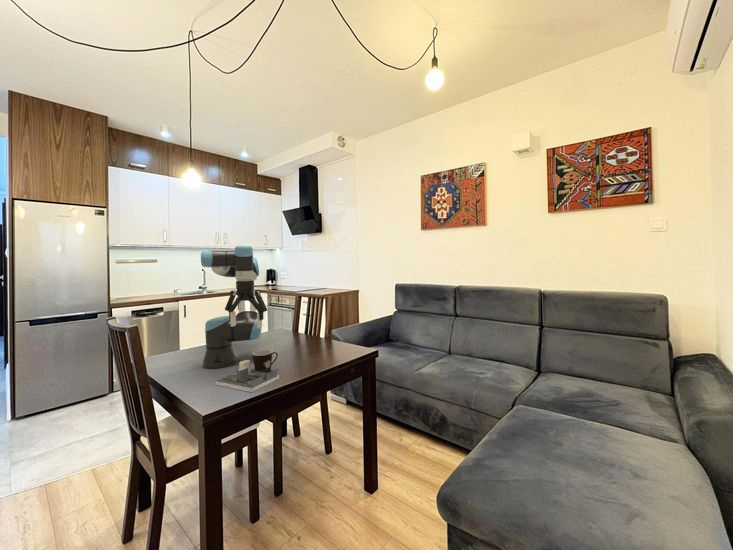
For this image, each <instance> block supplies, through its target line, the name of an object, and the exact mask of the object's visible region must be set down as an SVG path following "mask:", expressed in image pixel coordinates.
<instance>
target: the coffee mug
mask: <svg viewBox="0 0 733 550" xmlns="http://www.w3.org/2000/svg"><path fill="white" fill-rule="evenodd" d="M274 354H275V355H276V356H275V359H274V360H273V355H274ZM278 356H279V355H278V352H276V351H273V350H269V349H263V350H257V351H254V352H252V361H253V365H254V370H255V371H264V372H271V371H272V365H273V364H274V363H275V362H276V361H277V359H278Z"/></svg>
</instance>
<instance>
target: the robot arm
mask: <svg viewBox="0 0 733 550" xmlns="http://www.w3.org/2000/svg"><path fill="white" fill-rule="evenodd" d="M200 263H201V266H202V267H203V268H211V270H212V272H213V273H214V274H216V275H218V276H221V277H225V278H235V280H236V281H235V289H236V290H235V289H234V290H231V291H230V292H229V293H230V294H229V297H228V300H227V302H226V305H225V306H224V310H225V311H227V312H228V315H226V316H225V315H224V316H218V317H213V318H210V319H208V320H207V321H206V322H205V325H204V326H205V328H204V331H205V353H204V356H203V360H202V368H205V369H221V368H226V367H230V366H232V365H234V364H236V363H237V358H236V355H235V351H234V349H233V347H232V343H235V342H243V341H244V342H245V341H246V342H247V341H255V340H259V339H260V338H261V336H262V328H263V320H264V318H265V317H264V313H265V312H268V308H267V306H266V303H265V302H264V299H263V297H262V295H261V294H262V293H261V291H260V290H257V291H256V289H255V281H256V280H257V277H259V276H260V268H259V263H258V260H257V258H256V257H254V252H253V247H252V246H251V245H237V246H234V250H202V251H201V253H200ZM236 296H237V297H236ZM237 307H238V313H237V314H236V312H237V311H236V308H237Z"/></svg>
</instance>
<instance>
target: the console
mask: <svg viewBox="0 0 733 550" xmlns="http://www.w3.org/2000/svg"><path fill="white" fill-rule="evenodd" d="M280 377H281V375H280V374H277V369H272V370H271V372H264V371H255V369H252V368H251V372H248V378H249V380H247V381H245V382H238V381H237V379H236V372H235V373H232V374H230V375H227V376H225V377H222V378H220V379H217V380H215V386H216V385H217V386H220V387H223V388H230V389H233V390H239V391H242V392H243V391H244V392H247V393H253V392H255V391H257V390H259V389H262V388H263V387H266V386H268V385H270V384H271V383H273V382H275V381H277V380H280Z"/></svg>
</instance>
